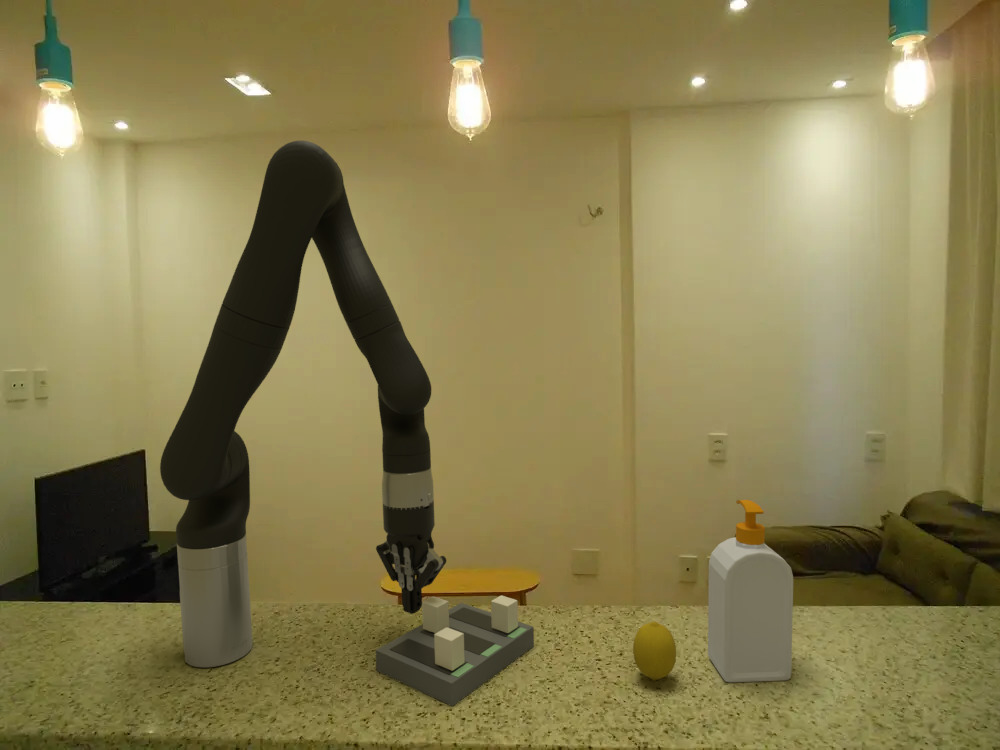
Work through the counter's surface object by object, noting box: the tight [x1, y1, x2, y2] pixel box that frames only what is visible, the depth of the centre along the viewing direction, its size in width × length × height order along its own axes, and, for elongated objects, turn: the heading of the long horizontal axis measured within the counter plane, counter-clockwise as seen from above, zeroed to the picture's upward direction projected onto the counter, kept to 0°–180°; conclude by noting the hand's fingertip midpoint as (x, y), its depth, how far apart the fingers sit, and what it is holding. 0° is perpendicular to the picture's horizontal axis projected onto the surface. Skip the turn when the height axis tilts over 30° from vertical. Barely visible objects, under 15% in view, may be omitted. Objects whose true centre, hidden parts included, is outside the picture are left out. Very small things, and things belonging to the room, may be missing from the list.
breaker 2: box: [490, 595, 519, 633], centre depth 94 cm, size 3×2×4 cm
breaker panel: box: [375, 602, 535, 707], centre depth 92 cm, size 14×18×3 cm
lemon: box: [632, 620, 677, 681], centre depth 86 cm, size 6×6×8 cm
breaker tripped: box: [421, 595, 450, 633], centre depth 94 cm, size 3×2×4 cm
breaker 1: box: [434, 627, 464, 671], centre depth 85 cm, size 3×2×4 cm
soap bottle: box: [707, 499, 794, 683], centre depth 87 cm, size 9×7×23 cm
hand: (412, 610), depth 98 cm, fingers closed
